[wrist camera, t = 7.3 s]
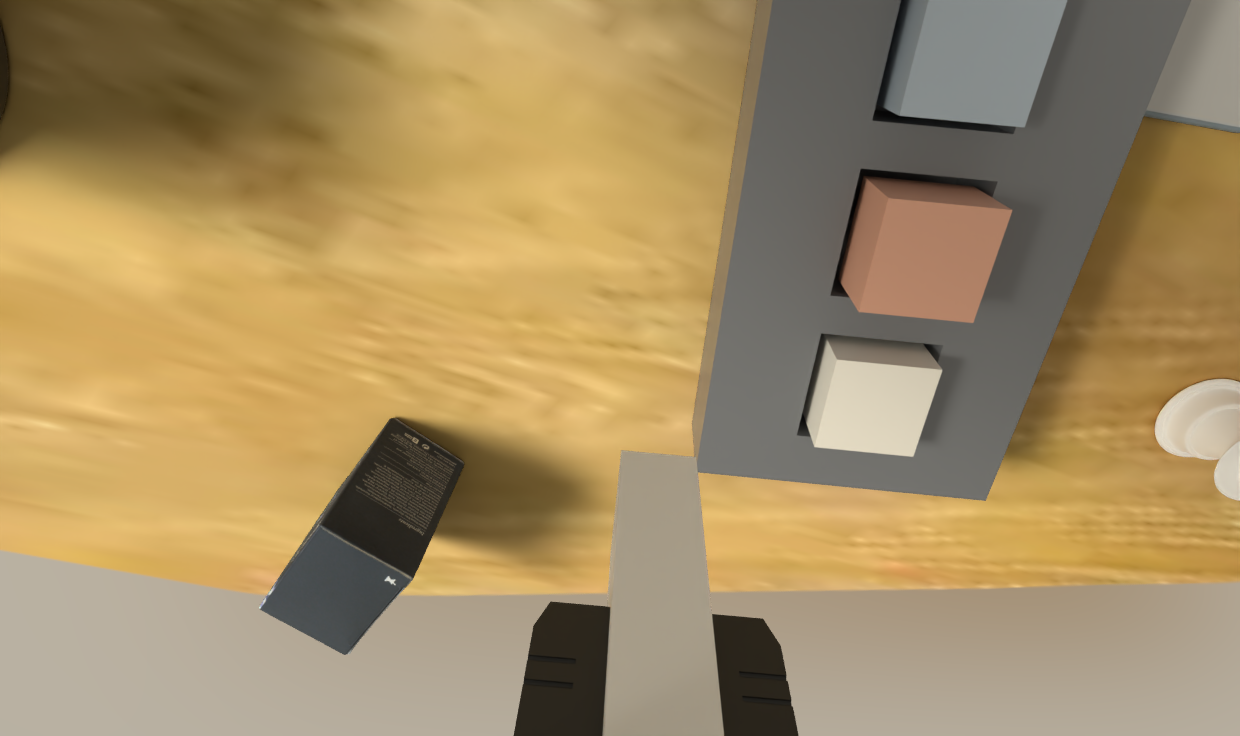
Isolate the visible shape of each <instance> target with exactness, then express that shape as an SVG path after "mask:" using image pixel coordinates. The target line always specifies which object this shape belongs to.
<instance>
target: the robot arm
mask: <svg viewBox="0 0 1240 736" xmlns="http://www.w3.org/2000/svg"><path fill="white" fill-rule="evenodd" d="M7 91H8V60H7V52H6V47H5V42H4V37H3V33H2V29H1V26H0V119H1V116H2V114H3V111H4V107H5V103H6V98H7ZM514 736H798V731H797V726H796V721H795V716H794V711H793V707H792V706H791V696H790V691H789V685H788V682H787V681H786V671H785V666H784V660H783V655H782V651H781V646H780V644H779V643H778V641H777V639H776V638H775V636H774V635H773V634H772V632H771V630H770V629H769V627H768V626H767V624H766V623H765V621H764V620H763V619H760V618H748V617H737V616H726V615H715V614H712V610H711V600H710V590H709V580H708V570H707V560H706V550H705V540H704V530H703V520H702V510H701V500H700V490H699V480H698V470H697V460H696V457H689V456H678V455H667V454H656V453H645V452H634V451H623V450H621V459H620V469H619V478H618V488H617V497H616V507H615V517H614V526H613V536H612V546H611V556H610V571H609V586H608V600H607V607H605V606H594V605H582V604H571V603H560V602H550V603H549V605H548V606H547V608H546V609H545V610H544V612H543V613H542V615H541V616H540V617H539V619H538V620H537V622H536V623H535V625H534V626H533V632H532V637H531V643H530V649H529V654H528V661H527V665H526V671H525V676H524V684H523V687H522V693H521V698H520V704H519V709H518V715H517V720H516V726H515V731H514Z"/></svg>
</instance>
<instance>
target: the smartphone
mask: <svg viewBox="0 0 1240 736" xmlns="http://www.w3.org/2000/svg"><path fill="white" fill-rule="evenodd" d="M1144 116H1146V117H1151V118H1157V119H1162V120H1168V121H1173V122H1179V123H1184V124H1189V125H1195V126H1200V127H1206V128H1211V129H1217V130H1222V131H1228V132H1233V133H1240V0H1191V2H1190V5H1189V7H1188V10H1187V12H1186V15H1185V17H1184V19H1183V22H1182V24H1181V27H1180V29H1179V32H1178V34H1177V37H1176V39H1175V41H1174V44H1173V46H1172V49H1171V51H1170V54H1169V56H1168V58H1167V61H1166V63H1165V66H1164V68H1163V71H1162V73H1161V75H1160V78H1159V80H1158V83H1157V85H1156V88H1155V90H1154V92H1153V95H1152V97H1151V100H1150V102H1149V105H1148V107H1147V109H1146V112H1145V114H1144Z"/></svg>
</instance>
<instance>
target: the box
mask: <svg viewBox="0 0 1240 736" xmlns="http://www.w3.org/2000/svg"><path fill="white" fill-rule="evenodd" d="M463 467H464V462H463V461H461V460H460V459H458V458H457V457H455V456H454V455H452V454H451V453H449V452H448V451H446V450H444V449H443V448H441V447H440V446H439V445H437V444H435V443H434V442H432V441H430V440H429V439H428V438H426V437H424V436H423V435H421V434H419V433H418V432H416V431H415V430H413V429H412V428H410V427H409V426H407V425H405V424H404V423H402V422H400V421H399V420H398V419H396V418H391V419H389V421H388V422H387V424H386V425H385V426H384V428H383V429H382V431H381V432H380V433H379V435H378V436H377V438H376V439H375V440H374V442H373V443H372V444H371V446H370V447H369V448H368V450H367V451H366V453H365V454H364V456H363V457H362V458H361V459H360V461H359V462H358V463H357V465H356V466H355V468H354V469H353V471H352V472H351V473H350V475H349V476H348V477H347V478H346V480H345V481H344V483H343V484H342V485H341V486H340V488H339V489H338V490H337V492H336V493H335V495H334V496H333V498H332V499H331V501H330V502H329V504H328V505H327V507H326V508H325V510H324V511H323V513H322V514H321V515H320V517H319V518H318V520H317V521H316V523H315V524H314V526H313V527H312V529H311V530H310V532H309V533H308V535H307V536H306V538H305V539H304V541H303V542H302V544H301V545H300V547H299V548H298V550H297V551H296V553H295V554H294V556H293V557H292V559H291V560H290V562H289V563H288V565H287V566H286V568H285V569H284V571H283V572H282V574H281V575H280V577H279V578H278V579H277V581H276V582H275V584H274V585H273V587H272V588H271V590H270V591H269V593H268V594H267V596H266V597H265V599H264V600H263V602H262V603H261V605H260V607H259V608H260V610H262V611H264V612H266V613H268V614H269V615H271V616H273V617H275V618H277V619H278V620H280V621H282V622H284V623H286V624H288V625H290V626H292V627H293V628H295V629H297V630H299V631H301V632H303V633H305V634H307V635H308V636H311V637H312V638H314V639H316V640H318V641H320V642H322V643H324V644H325V645H327V646H329V647H331V648H333V649H335V650H336V651H338V652H340V653H342V654H344V655H346V654H350V653H351V651H352V650H353V648H354V647H355V645H356V644H357V643H358V642H359V640H360V639H361V638H362V637H363V635H364V634H365V633H366V632H367V631H368V629H369V628H370V627H371V626H372V625H373V623H374V622H375V621H376V620H377V619H378V618H379V617H380V616H381V614H382V613H383V612H384V611H385V610H386V609H387V608H388V606H389V605H390V604H391V603H392V602H393V601H394V600H395V599H396V597H397V596H398V595H399V594H400V593H401V592H402V591H403V590H404V589H405V588H406V586H407V585H409V583H410V582H411V581H412V580H413V578H414V576H415V573H416V571H417V570H418V568H419V565H420V563H421V561H422V559H423V556H424V554H425V552H426V549H427V547H428V545H429V543H430V541H431V538H432V536H433V534H434V532H435V529H436V527H437V525H438V523H439V520H440V518H441V516H442V514H443V511H444V509H445V507H446V504H447V502H448V500H449V498H450V496H451V494H452V491H453V489H454V487H455V485H456V483H457V480H458V478H459V476H460V473H461V471H462V469H463Z"/></svg>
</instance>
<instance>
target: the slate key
mask: <svg viewBox="0 0 1240 736" xmlns="http://www.w3.org/2000/svg"><path fill="white" fill-rule="evenodd" d="M1066 3H1067V0H901V2H900V7H899V11H898V15H897V19H896V23H895V27H894V32H893V36H892V40H891V44H890V48H889V52H888V57H887V61H886V65H885V69H884V73H883V78H882V82H881V86H880V90H879V94H878V98H877V103H876V104H877V105H879V106H881V107H883V108H885V109H887V110H889V111H891V112H893V113H895V114H897V115H899V116H908V117H919V118H929V119H940V120H950V121H961V122H971V123H982V124H993V125H1003V126H1014V127H1024V128H1025V125H1026V122H1027V119H1028V116H1029V113H1030V110H1031V107H1032V104H1033V101H1034V98H1035V95H1036V92H1037V89H1038V86H1039V83H1040V80H1041V77H1042V74H1043V71H1044V68H1045V65H1046V62H1047V59H1048V56H1049V54H1050V51H1051V48H1052V45H1053V42H1054V39H1055V36H1056V33H1057V30H1058V27H1059V24H1060V21H1061V18H1062V15H1063V12H1064V9H1065V6H1066Z"/></svg>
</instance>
